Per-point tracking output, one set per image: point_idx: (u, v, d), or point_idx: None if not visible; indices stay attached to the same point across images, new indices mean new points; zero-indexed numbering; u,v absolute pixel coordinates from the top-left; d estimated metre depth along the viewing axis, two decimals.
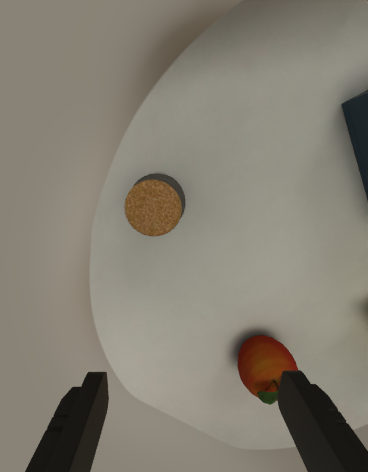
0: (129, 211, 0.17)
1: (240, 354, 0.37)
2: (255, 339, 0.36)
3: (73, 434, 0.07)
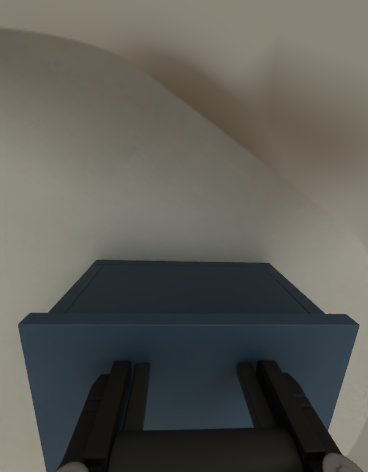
0: None
1: None
2: None
3: (108, 414, 0.07)
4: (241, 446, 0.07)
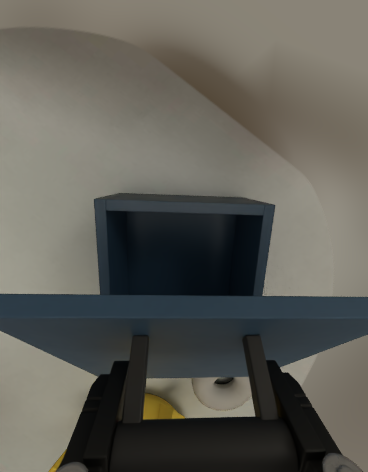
0: None
1: None
2: None
3: (108, 414, 0.07)
4: (242, 454, 0.07)
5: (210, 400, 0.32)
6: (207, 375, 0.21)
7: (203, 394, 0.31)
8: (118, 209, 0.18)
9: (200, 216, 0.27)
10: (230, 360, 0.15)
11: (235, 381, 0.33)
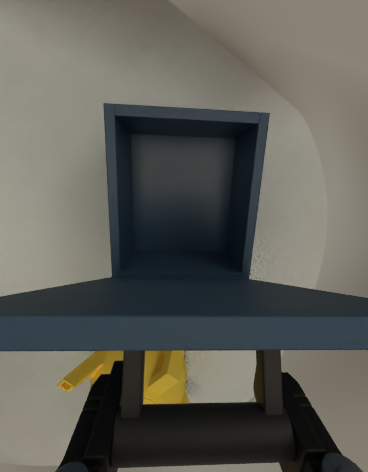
0: None
1: None
2: None
3: (109, 414, 0.07)
4: (241, 452, 0.07)
5: None
6: None
7: None
8: (126, 113, 0.20)
9: (201, 149, 0.29)
10: None
11: None
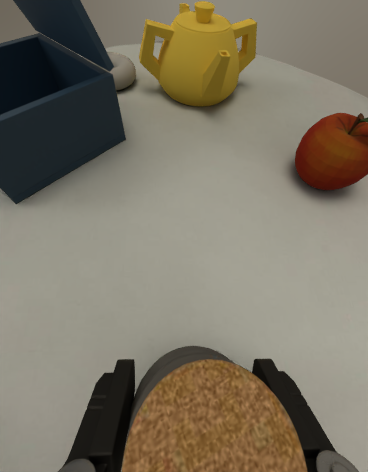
0: None
1: (341, 184, 0.27)
2: (311, 177, 0.28)
3: (113, 412, 0.07)
4: None
5: (123, 62, 0.40)
6: None
7: (122, 66, 0.39)
8: None
9: None
10: None
11: None
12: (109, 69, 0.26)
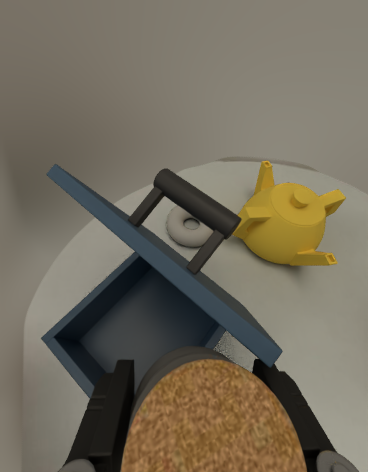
0: None
1: None
2: None
3: (113, 412, 0.07)
4: (180, 187, 0.13)
5: None
6: None
7: None
8: None
9: (107, 355, 0.31)
10: (156, 238, 0.20)
11: (184, 218, 0.42)
12: None
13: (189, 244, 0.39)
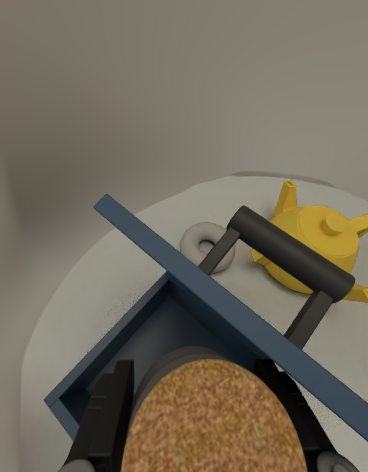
0: None
1: None
2: None
3: (112, 412, 0.07)
4: (269, 231, 0.10)
5: None
6: None
7: None
8: None
9: None
10: None
11: (199, 240, 0.39)
12: None
13: None
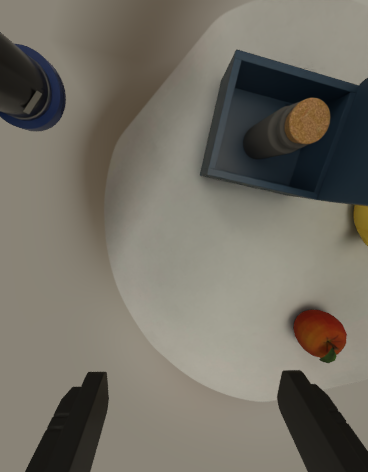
0: (298, 137, 0.24)
1: (296, 338, 0.47)
2: (296, 322, 0.47)
3: (73, 434, 0.07)
4: None
5: None
6: None
7: None
8: (215, 161, 0.31)
9: (228, 117, 0.37)
10: None
11: None
12: (318, 199, 0.33)
13: None
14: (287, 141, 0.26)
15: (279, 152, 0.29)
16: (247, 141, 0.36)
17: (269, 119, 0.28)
